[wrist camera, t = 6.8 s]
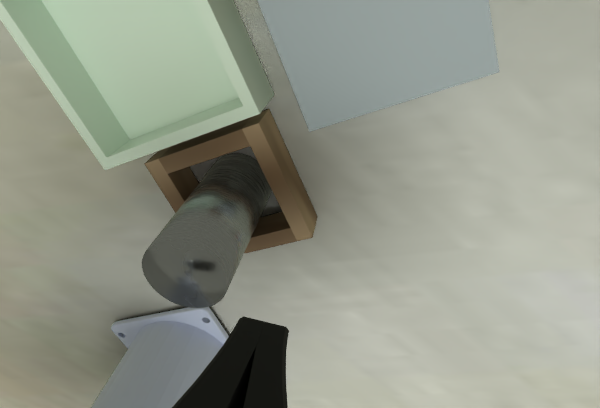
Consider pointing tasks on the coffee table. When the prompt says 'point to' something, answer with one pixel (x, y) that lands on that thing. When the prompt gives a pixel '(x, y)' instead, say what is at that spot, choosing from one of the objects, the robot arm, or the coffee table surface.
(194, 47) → the tray
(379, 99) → the pale blue block
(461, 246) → the coffee table surface
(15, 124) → the coffee table surface
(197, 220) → the dowel
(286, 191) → the socket
